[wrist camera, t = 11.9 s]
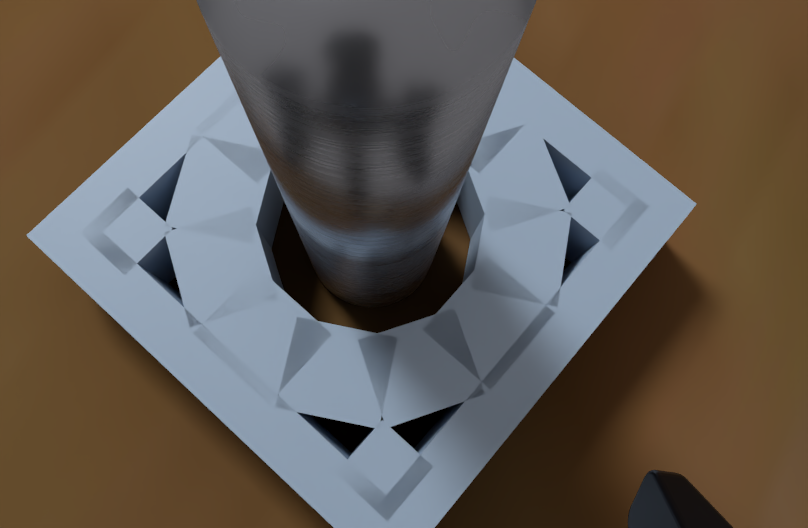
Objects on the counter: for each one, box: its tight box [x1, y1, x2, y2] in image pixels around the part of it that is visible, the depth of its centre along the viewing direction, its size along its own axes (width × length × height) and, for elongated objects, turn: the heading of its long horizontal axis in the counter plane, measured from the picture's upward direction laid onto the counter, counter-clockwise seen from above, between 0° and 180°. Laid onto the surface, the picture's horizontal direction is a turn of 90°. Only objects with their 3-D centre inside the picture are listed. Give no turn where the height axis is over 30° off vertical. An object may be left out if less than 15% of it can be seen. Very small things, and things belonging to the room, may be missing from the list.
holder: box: [26, 56, 696, 528], centre depth 17 cm, size 12×12×2 cm
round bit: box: [197, 0, 536, 307], centre depth 13 cm, size 4×4×12 cm
